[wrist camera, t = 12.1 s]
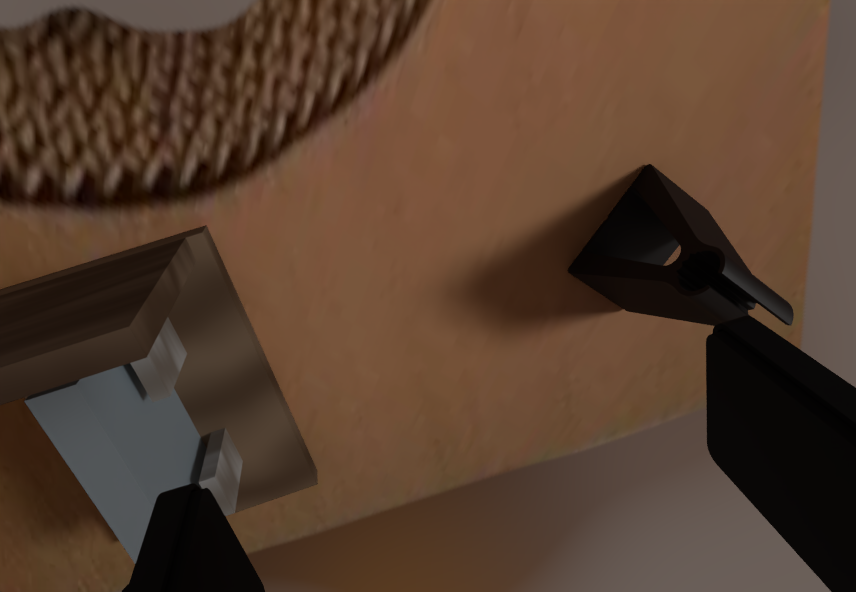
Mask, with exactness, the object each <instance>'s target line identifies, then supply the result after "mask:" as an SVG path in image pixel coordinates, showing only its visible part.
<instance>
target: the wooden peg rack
mask: <svg viewBox="0 0 856 592" xmlns="http://www.w3.org/2000/svg"><path fill="white" fill-rule="evenodd" d="M128 363H130V364H131V365H132V367H133V369H134V371H135V372H136V374H137V376H138V378H139V379H140V381H141V383H142V384H143V386H144V388H145V390H146V391H147V393H148V395H149V397H150V398H151V400H152V402H155V401H158V400H161V399H164V398H167V397H170V396H171V394H172V391H173V389H175V391H176V393H177V395H178V396H179V398H180V400H181V402H182V404H183V406H184V408H185V409H186V411H187V413H188V415H189V417H190V419H191V420H192V422H193V424H194V426H195V428H196V430H197V432H198V433H199V435H200V437H201V439H202V441H203V443H204V444H205V446H206V448H207V450H206V455H205V459H204V463H203V467H202V471H201V475H200V479H199V484H200V486H201V487H202V489H204V488H208V489H210V491H211V492H212V494H213V495H214V497H215V499H216V501H217V503H218V504H219V506H220V508H221V510H222V512H223V513H224V515H225V516H227V515H230V514H233V513H236V512H239V511H241V510H244V509H247V508H250V507H253V506H256V505H259V504H262V503H265V502H267V501H270V500H273V499H276V498H279V497H282V496H285V495H288V494H291V493H294V492H296V491H299V490H302V489H305V488H308V487H311V486H314V485H317V484H318V483H317V469H316V467H315V465H314V463H313V460H312V458H311V456H310V454H309V452H308V449H307V447H306V445H305V443H304V440H303V438H302V436H301V434H300V432H299V429H298V427H297V425H296V423H295V421H294V418H293V416H292V414H291V412H290V409H289V407H288V405H287V403H286V401H285V398H284V396H283V394H282V392H281V390H280V387H279V385H278V383H277V381H276V378H275V376H274V374H273V372H272V370H271V367H270V365H269V363H268V361H267V359H266V356H265V354H264V352H263V350H262V348H261V345H260V343H259V341H258V339H257V336H256V334H255V332H254V330H253V328H252V325H251V323H250V321H249V319H248V317H247V314H246V312H245V310H244V308H243V305H242V303H241V301H240V299H239V297H238V294H237V292H236V290H235V288H234V286H233V283H232V281H231V279H230V277H229V274H228V272H227V270H226V268H225V266H224V263H223V261H222V259H221V257H220V255H219V252H218V250H217V248H216V246H215V243H214V241H213V239H212V237H211V235H210V232H209V230H208V228H207V226H203V227H200V228H197V229H193V230H190V231H187V232H184V233H181V234H177V235H174V236H171V237H168V238H165V239H161V240H158V241H155V242H152V243H149V244H145V245H142V246H139V247H136V248H132V249H129V250H126V251H123V252H120V253H116V254H113V255H110V256H107V257H104V258H100V259H97V260H94V261H91V262H88V263H84V264H81V265H78V266H75V267H71V268H68V269H65V270H62V271H59V272H55V273H52V274H49V275H46V276H43V277H39V278H36V279H33V280H30V281H27V282H23V283H20V284H17V285H14V286H11V287H7V288H4V289H1V290H0V405H2V404H5V403H8V402H11V401H14V400H18V399H21V398H25V399H26V398H27V397H28V396H30V395H33V394H36V393H39V392H42V391H45V390H48V389H51V388H55V387H58V386H61V385H64V384H67V383H70V382H73V381H76V380H79V379H82V378H85V377H88V376H92V375H95V374H98V373H101V372H104V371H107V370H110V369H113V368H116V367H119V366H122V365H125V364H128Z"/></svg>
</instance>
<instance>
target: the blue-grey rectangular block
mask: <svg viewBox="0 0 856 592" xmlns="http://www.w3.org/2000/svg"><path fill="white" fill-rule="evenodd" d="M24 402H25V403H26V405H27V406H28V408H29V409H30V411H31V412H32V413H33V415H34V416H35V418H36V419H37V421H38V422H39V424H40V425H41V427H42V428H43V430H44V431H45V432H46V434H47V435H48V437H49V438H50V440H51V441H52V443H53V444H54V446H55V447H56V449H57V450H58V451H59V453H60V454H61V456H62V457H63V459H64V460H65V462H66V463H67V465H68V466H69V468H70V469H71V471H72V472H73V473H74V475H75V476H76V478H77V479H78V481H79V482H80V484H81V485H82V487H83V488H84V490H85V491H86V492H87V494H88V495H89V497H90V498H91V500H92V501H93V503H94V504H95V506H96V507H97V509H98V510H99V511H100V513H101V514H102V516H103V517H104V519H105V520H106V522H107V523H108V525H109V526H110V528H111V529H112V530H113V532H114V533H115V535H116V536H117V538H118V539H119V541H120V542H121V544H122V545H123V547H124V548H125V550H126V551H127V552H128V554H129V555H130V557H131V558H132V560H133V561H134V563H135V564H136V561H137V558H138V555H139V552H140V549H141V545H142V542H143V539H144V536H145V533H146V530H147V527H148V524H149V521H150V517H151V514H152V511H153V508H154V505H155V502H156V499H157V497H158V495H159V494H160V493H162V492H165V491H168V490H172V489H175V488H178V487H181V486H185V485H188V484H191V483H195V484H196V485H198V486H199V488H200V489H202V487H201V486H200V484H199V479H200V475H201V471H202V467H203V463H204V459H205V455H206V450H207V448H206V446H205V444H204V443H203V441H202V439H201V437H200V435H199V433H198V432H197V430H196V428H195V426H194V424H193V422H192V420H191V419H190V417H189V415H188V413H187V411H186V409H185V408H184V406H183V404H182V402H181V400H180V398H179V396H178V395H177V393H176V391H175V389H173V391H172V394H171V396H170V397H167V398H164V399H161V400H158V401H155V402H152V400H151V398H150V397H149V395H148V393H147V391H146V390H145V388H144V386H143V384H142V383H141V381H140V379H139V378H138V376H137V374H136V372H135V371H134V369H133V367H132V365H131V364H130V363H128V364H125V365H122V366H119V367H116V368H113V369H110V370H107V371H104V372H101V373H98V374H95V375H92V376H88V377H85V378H82V379H79V380H76V381H73V382H70V383H67V384H64V385H61V386H58V387H55V388H51V389H48V390H45V391H42V392H39V393H36V394H33V395H30V396H28V397H27V398H26V400H25V401H24Z"/></svg>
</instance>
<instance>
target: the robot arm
mask: <svg viewBox="0 0 856 592" xmlns="http://www.w3.org/2000/svg"><path fill="white" fill-rule="evenodd" d="M706 381H707V446H708V450H709V452H710V455H711V457H712V458H713V460H714V461H715V463H716V464H717V465H718V466H719V467H720V468H721V470H722V471H723V472H724V473H725V474H726V475H727V476H728V477H729V478H730V479H731V481H732V482H733V483H734V484H735V485H736V486H737V487H738V488H739V489H740V491H741V492H742V493H743V494H744V495H745V496H746V497H747V498H748V499H749V501H751V503H752V504H753V505H754V506H755V507H756V508H757V509H758V510H759V512H760V513H761V514H762V515H763V516H764V517H765V518H766V519H767V520H768V522H769V523H770V524H771V525H772V526H773V527H774V528H775V529H776V530H777V532H778V533H779V534H780V535H781V536H782V537H783V538H784V539H785V541H786V542H787V543H788V544H789V545H790V546H791V547H792V548H793V549H794V551H796V553H797V554H798V555H799V556H800V557H801V558H802V559H803V561H804V562H806V564H807V565H808V566H809V567H810V568H811V569H812V570H813V571H814V573H815V574H816V575H817V576H818V577H819V578H820V579H821V580H822V582H823V583H824V584H825V585H826V586H827V587H828V588H829V589H830V590H831V592H856V388H855V387H854V386H852V385H851V384H849V383H847V382H846V381H845V380H843V379H842V378H841V377H839V376H838V375H836V374H835V373H833V372H832V371H830V370H829V369H827V368H826V367H824V366H823V365H821V364H820V363H819V362H817V361H816V360H814V359H813V358H811V357H810V356H808V355H807V354H806V353H804V352H803V351H801V350H800V349H798V348H797V347H795V346H794V345H792V344H791V343H789V342H788V341H787V340H785V339H784V338H782V337H781V336H779V335H778V334H776V333H775V332H773V331H772V330H771V329H769V328H768V327H766V326H765V325H763V324H762V323H760V322H759V321H757V320H756V319H754V318H753V317H750V316H743V317H739V318H736V319H733V320H729V321H726V322H723V323H720V324H717V325H716V326H715V327H714V329H713V334H711V335H709V336H708V337H707V340H706ZM122 592H265V590H264V586H263V584H262V582H261V580H260V578H259V577H258V575H257V573H256V571H255V569H254V567H253V566H252V564H251V562H250V560H249V559H248V557H247V555H246V553H245V551H244V549H243V548H242V546H241V544H240V542H239V540H238V539H237V537H236V535H235V533H234V531H233V530H232V528H231V526H230V524H229V522H228V521H227V519H226V517H225V515H224V513H223V512H222V510H221V508H220V506H219V504H218V503H217V501H216V499H215V497H214V495H213V494H212V492H211V491H210V489H208V488H204V489H200V488H199V486H198V485H196V484H195V483H191V484H188V485H185V486H181V487H178V488H175V489H172V490H168V491H165V492H162V493H160V494H159V495H158V497H157V499H156V502H155V505H154V508H153V511H152V514H151V517H150V521H149V524H148V527H147V530H146V533H145V536H144V539H143V542H142V545H141V549H140V552H139V555H138V558H137V561H136V564H135V567H134V570H133V573H132V577H131V580H130V583H129V584H128V585H127V586H126V587H125V588H124V589H123V590H122Z"/></svg>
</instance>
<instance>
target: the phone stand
mask: <svg viewBox="0 0 856 592" xmlns="http://www.w3.org/2000/svg"><path fill="white" fill-rule="evenodd" d="M679 245H680V246H681V253H680V255H679V257H678V258H677V259H676V261H674V262H673V263H672V264H670V265H667V266H663V265H664V264H665V262H666V261H667V260H668V258H669V257H670V256H671V255H672V253H673V252H674V251H675V250H676V248H677V247H678V246H679ZM568 272H569V273H570V274H572V275H573V276H575V277H576V278H578V279H579V280H581V281H582V282H584V283H585V284H587V285H588V286H590V287H591V288H593V289H594V290H596V291H597V292H599V293H600V294H602V295H603V296H605V297H606V298H608V299H609V300H611V301H612V302H614V303H615V304H617V305H619V306H620V307H622V308H623V309H625V310H626V311H628V312H634V313H640V314H647V315H653V316H659V317H665V318H671V319H677V320H683V321H689V322H695V323H701V324H707V325H713V326H716V325H717V324H720V323H723V322H726V321H729V320H733V319H736V318H739V317H743V316H750V315H748V310H751V309H754V308H755V304H756V303H758V304H759V305H761V306H762V307H763V308H765V309H766V310H767V311H769V312H770V313H771V314H773V315H774V316H775V317H777V318H778V319H779V320H781V321H782V322H783V323H785V324H786V325H791V324H792V321H793V309H792V307H791V305H790V304H789V303H788V302H787V301H786V300H784V299H783V298H782V297H780V296H779V295H778V294H777V293H775V292H774V291H773V290H772V289H770V288H769V287H768V286H766V285H765V284H764V283H763V282H761V281H760V280H759V279H757V278H756V277H755V276H754V275H752V273H751V272H750V271H749V269H748V268H747V266H746V265H745V263H744V262H743V260H742V259H741V258H740V256H739V255H738V253H737V252H736V250H735V249H734V247H733V246H732V245H731V243H730V242H729V240H728V239H727V237H726V236H725V234H724V233H723V232H722V230H721V229H720V227H719V226H718V224H717V223H716V221H715V220H714V219H713V217H712V216H711V214H710V213H709V211H708V210H707V209H705V208H704V207H703V206H702V205H701V204H699V203H698V202H697V201H696V200H694V199H693V198H692V197H691V196H689V195H688V194H687V193H686V192H685V191H683V190H682V189H681V188H680V187H678V186H677V185H676V184H675V183H673V182H672V181H671V180H670V179H668V178H667V177H666V176H665V175H664V174H662V173H661V172H660V171H659V170H657V169H656V168H655V167H654V166H652V165H651V164H648V165H646V166H645V167H644V169H643V170H642V171H641V173H640V174H639V175H638V177H637V178H636V179H635V181H634V182H633V183H632V185H631V186H630V187H629V189H628V190H627V191H626V193H625V194H624V195H623V197H622V198H621V199H620V201H619V202H618V203H617V205H616V206H615V207H614V209H613V210H612V211H611V213H610V214H609V215H608V219H607V220H606V221H604V222H603V223H602V224H601V226H600V227H599V228H598V230H597V231H596V232H595V234H594V235H593V236H592V238H591V239H590V240H589V242H588V243H587V244H586V246H585V247H584V248H583V250H582V251H581V252H580V254H579V255H578V256H577V258H576V259H575V260H574V262H573V263H572V264H571V266H570V267H569V269H568ZM750 317H751V316H750Z"/></svg>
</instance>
